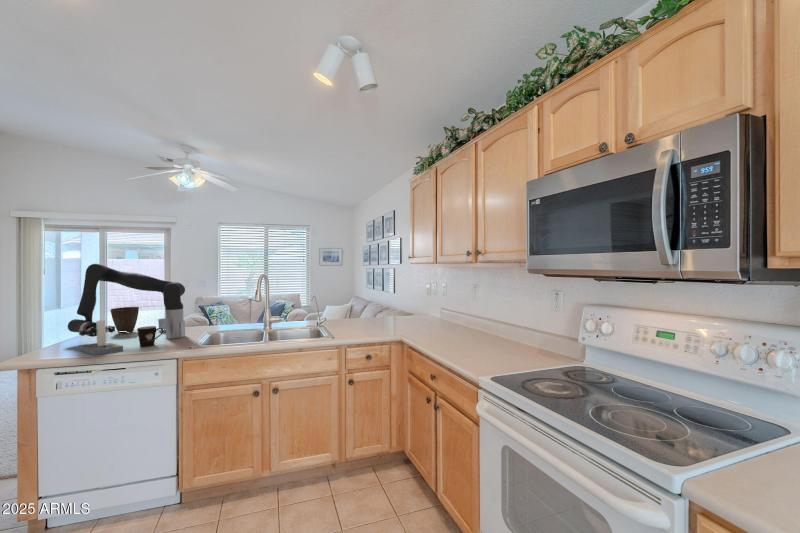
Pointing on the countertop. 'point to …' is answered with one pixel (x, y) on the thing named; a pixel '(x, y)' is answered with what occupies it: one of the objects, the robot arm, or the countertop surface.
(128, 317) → the plant pot
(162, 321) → the medicine box
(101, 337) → the switch handle
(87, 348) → the grey base plate
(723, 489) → the countertop surface
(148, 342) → the coffee mug
